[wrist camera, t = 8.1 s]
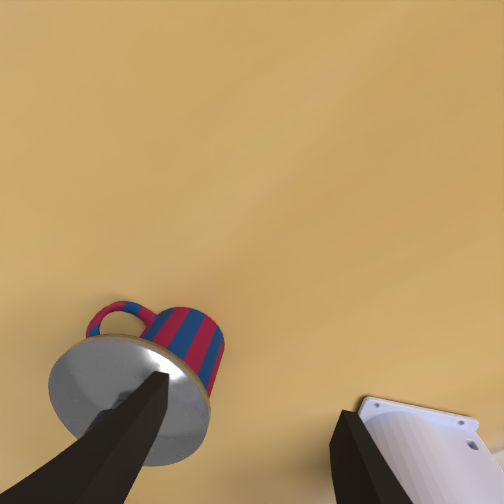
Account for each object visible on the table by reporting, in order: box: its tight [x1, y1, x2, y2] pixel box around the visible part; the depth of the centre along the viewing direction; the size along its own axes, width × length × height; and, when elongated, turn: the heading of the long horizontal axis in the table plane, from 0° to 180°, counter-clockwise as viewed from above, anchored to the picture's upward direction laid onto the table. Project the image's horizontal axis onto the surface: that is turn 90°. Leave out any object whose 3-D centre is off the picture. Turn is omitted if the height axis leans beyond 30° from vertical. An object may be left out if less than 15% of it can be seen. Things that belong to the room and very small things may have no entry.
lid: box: [48, 334, 211, 466], centre depth 15 cm, size 10×10×4 cm
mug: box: [86, 301, 225, 398], centre depth 20 cm, size 7×10×7 cm
